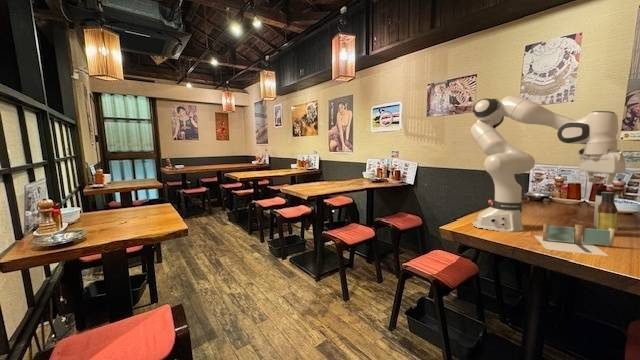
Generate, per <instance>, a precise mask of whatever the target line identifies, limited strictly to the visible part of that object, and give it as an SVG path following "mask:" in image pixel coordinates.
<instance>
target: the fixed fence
mask: <svg viewBox="0 0 640 360" xmlns="http://www.w3.org/2000/svg"><path fill="white" fill-rule="evenodd" d="M583 228H584V225H582V224H574V227H572V226H563V225H562V226H561V225H560V226H557V225H549V223H546V222H545V223H543V230H542V232H543V233H542V236H543V241H548V240H557V241H568V242H573V240H574V244H577V245H582V240H583Z"/></svg>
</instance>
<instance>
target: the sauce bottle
mask: <svg viewBox="0 0 640 360" xmlns="http://www.w3.org/2000/svg"><path fill="white" fill-rule="evenodd" d="M601 195H602V202H601V203H600V204H599V205H598V212H597V229H601V230H609V228H613V229H615V231H614V237H617V234H618V215H619V214H618V213H619V212H618V208H617V206H616V204H615V199H614V198H615V197H616V192H615V193H613V192H602V193H601ZM614 196H615V197H614Z"/></svg>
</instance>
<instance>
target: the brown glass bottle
mask: <svg viewBox="0 0 640 360" xmlns="http://www.w3.org/2000/svg"><path fill="white" fill-rule="evenodd" d="M595 189H596V190H595V200H594V202H595V203H594V214H593V226H592V227H593V229H597V212H598V205H599V204H600V203H601V202H602V195H601V193H602V192H613V193H615V194H616V192H615V190H610V189H602V188H595ZM615 197H616V195H615V196H614V200H615Z"/></svg>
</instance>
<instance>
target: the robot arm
mask: <svg viewBox="0 0 640 360" xmlns="http://www.w3.org/2000/svg"><path fill="white" fill-rule="evenodd" d="M472 110H473V114H474V116H475V117H476V118H477V121H476V122H475V123H474V124H472V125H471V127H470V130H469V132H470V134H471V136H472V138H473V140H474V142H475V143H476V144H477V145H478V147H479V148H480V149H481V151H483V153H484V154H485V155H487V157H486V158H485V160H484V162H483V168H484V170H485V171H486V173H488V174H489V176H490V177H491V178H492V181H493V184H494V200H492V199H489V200H487V201H488V204H489V207H488V208H486V209H484V210H482V211H480V212H479V213H478V215H477V218H476V220H473V221H472V222H471V223H472V224H473V225H472V224H471V225H472V227H473V226H475V227H477V228H476V229H478V228H483V229H482V230H486V229H488V230H487V231H493V230H494V231H496V232H504V233H514V232H523V231H525V228H524V225H523V220H522V213H523V202H522V193H523V192H522V190H523V188H522V186H521V185H520V183H518V182H517V180H516V177H515V175H520V174H525V173H527V172H530V171H532V170H533V169H534V168H535V165H536V160H535V158H534V156H533V155H531V154H530V153H526V152H524V151H522V150H520V149H519V148H518V147H516V146H514V145H513V144H511V143H510V142H508V140H506V139H505V138H504V137H503V136H502V135H501V134H500V133H499V132H498V131H497V129H496V128H497V127H499V126H500V125H501V124H502V123H503V121H504V120H505V119H504V117H506V118H510V119H511V120H513V121H515V122H518V123H520V124H521V123H522V124H527V125H538V126H546V127H550V128H553V129H555V130H557V138H558V140H559V141H560V142H561V143H565V144H569V145H577V144H578V145H585V146H583V147H582V148H580V149H579V150H578V152H577V153H578V155H579V157H578V169H579V171H580V172H585V175H586V177H587V182H588V183H595V182H596V177H595V176H594V174H595V173H603V174H604V173H605V175H606V179H604V185H613V184H614V183H613V182H614V179H615V178H616V177H617V174H624V173H625V172H626V158H625V156H624V155H623V152H622V151H621V150H620V149H618V144H619V143H618V138H617V135H618V133H619V118H618V115H617V113H615V112H614V111H610V110H609V111H608V110H596V111H591V112H589V113H588V114H586V115H584V116H583V117H580V118H578V119H575V120H574V119H573V118H569V117H567V116H564V115H561V114H559V113H555V112H553V111H552V110H550V109H548V108H546V107H544V106H542V105H540V104H539V103H537V102H535V101H533V100H531V99H528V98H525V97H521V96H517V95H507V96H505V97H503V98H502V99H501V100H499V99H498V98H487V97H485V98H482V99H479V100H477V101H476V102H475V103H474V105H473V107H472ZM475 227H474V228H475ZM494 231H493V232H494Z"/></svg>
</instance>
